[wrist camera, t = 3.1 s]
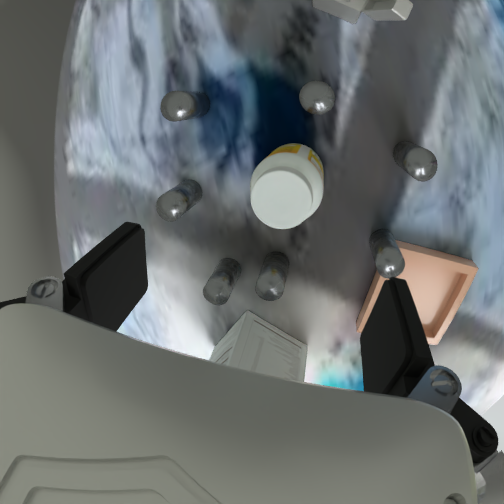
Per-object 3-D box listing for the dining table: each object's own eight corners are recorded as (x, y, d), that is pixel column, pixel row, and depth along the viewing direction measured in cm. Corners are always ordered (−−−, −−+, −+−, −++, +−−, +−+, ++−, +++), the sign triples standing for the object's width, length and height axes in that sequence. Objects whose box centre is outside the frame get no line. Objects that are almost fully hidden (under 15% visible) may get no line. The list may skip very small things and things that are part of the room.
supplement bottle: (333, 159, 26) (339, 184, 18) (307, 207, 29) (300, 252, 21) (279, 132, 26) (260, 145, 18) (256, 182, 29) (228, 217, 21)
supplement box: (212, 347, 41) (166, 450, 26) (246, 307, 36) (200, 428, 21) (270, 379, 41) (243, 484, 27) (310, 346, 37) (294, 467, 22)
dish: (472, 260, 27) (478, 268, 26) (433, 335, 32) (437, 345, 31) (387, 237, 28) (391, 245, 27) (356, 321, 34) (356, 332, 32)
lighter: (311, 7, 20) (308, -27, 13) (319, -7, 19) (317, -44, 12) (385, 40, 20) (408, 18, 13) (391, 26, 19) (416, 1, 12)
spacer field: (427, 115, 22) (448, 118, 18) (368, 308, 33) (372, 338, 28) (188, 72, 25) (164, 67, 21) (177, 266, 35) (158, 289, 31)
